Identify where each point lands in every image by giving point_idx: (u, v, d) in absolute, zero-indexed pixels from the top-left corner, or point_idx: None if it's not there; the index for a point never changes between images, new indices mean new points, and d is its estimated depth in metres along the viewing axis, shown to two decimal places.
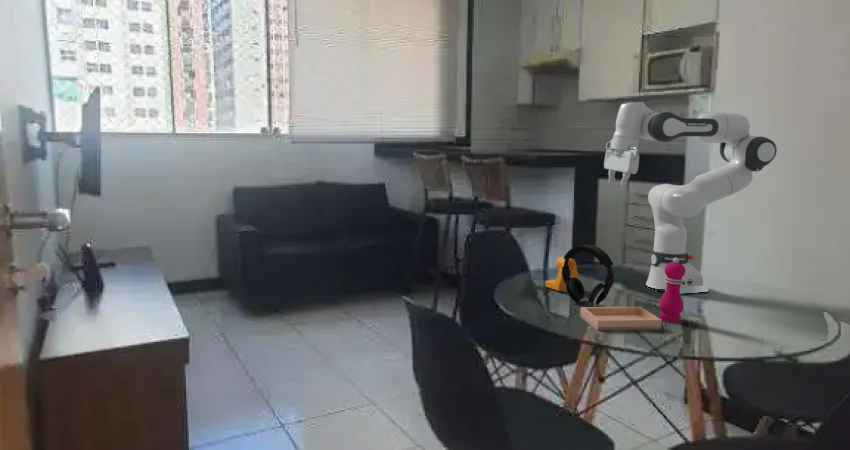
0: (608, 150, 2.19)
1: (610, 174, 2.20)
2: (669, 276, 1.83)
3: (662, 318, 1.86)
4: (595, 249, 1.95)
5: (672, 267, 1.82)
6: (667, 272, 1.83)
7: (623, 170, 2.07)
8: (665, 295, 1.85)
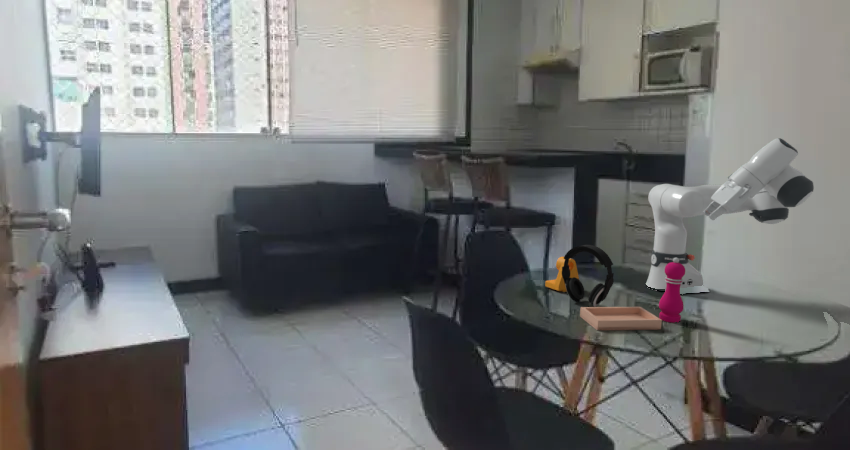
0: (727, 181, 1.84)
1: (710, 206, 1.85)
2: (669, 276, 1.83)
3: (662, 318, 1.86)
4: (595, 249, 1.95)
5: (672, 267, 1.82)
6: (667, 272, 1.83)
7: (721, 202, 1.73)
8: (665, 295, 1.85)
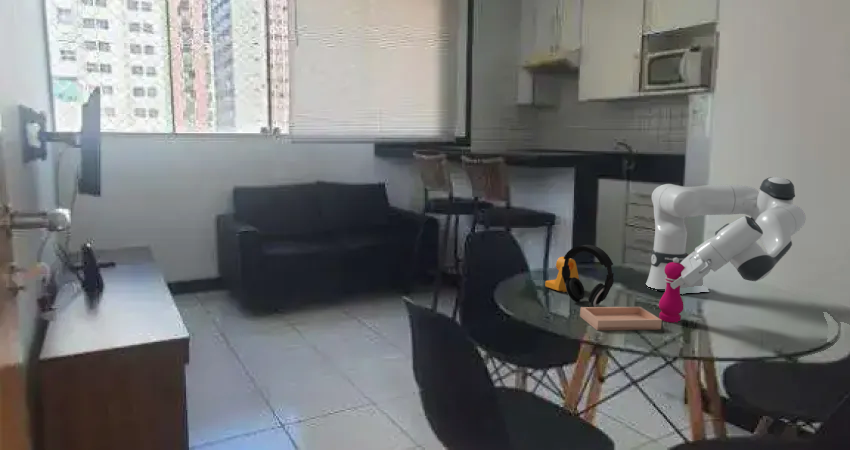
0: (694, 251, 1.88)
1: None
2: (669, 276, 1.83)
3: (662, 318, 1.86)
4: (595, 249, 1.95)
5: (672, 267, 1.82)
6: (667, 272, 1.83)
7: (682, 274, 1.78)
8: (665, 295, 1.85)
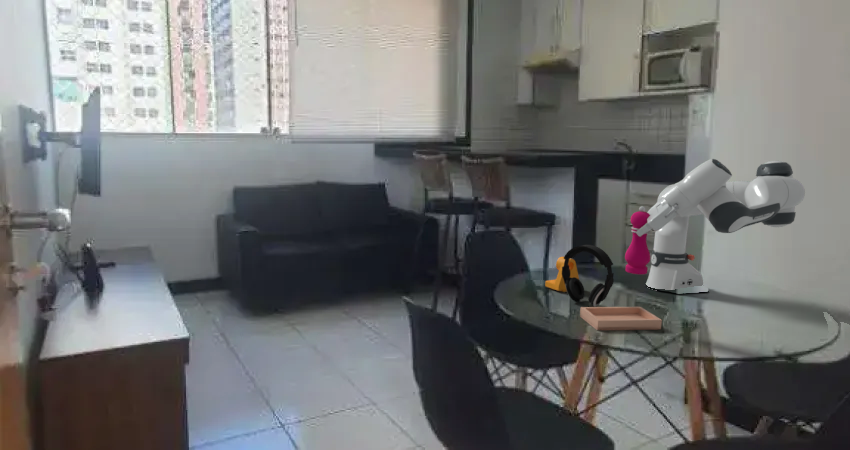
0: None
1: None
2: (635, 225, 1.75)
3: (628, 270, 1.77)
4: (595, 249, 1.95)
5: (638, 216, 1.74)
6: (633, 221, 1.75)
7: (648, 220, 1.69)
8: (631, 246, 1.77)
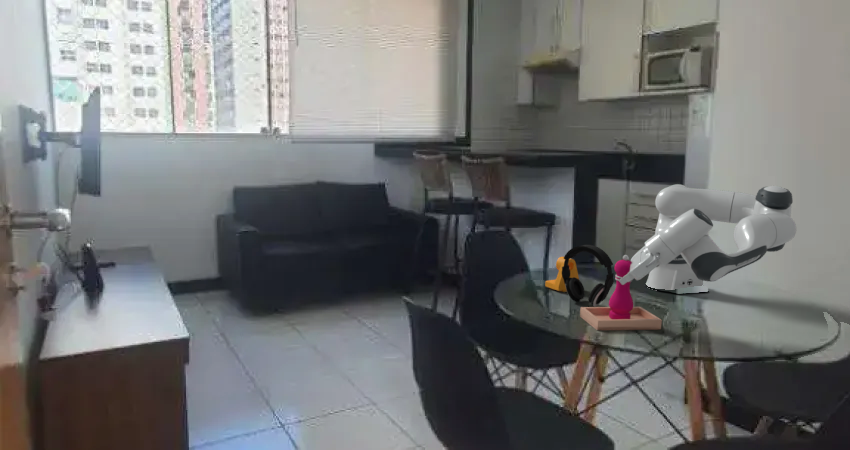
0: (646, 244, 1.82)
1: None
2: (618, 274, 1.80)
3: (611, 317, 1.82)
4: (595, 249, 1.95)
5: (621, 265, 1.78)
6: (616, 270, 1.79)
7: (630, 268, 1.72)
8: (615, 293, 1.81)
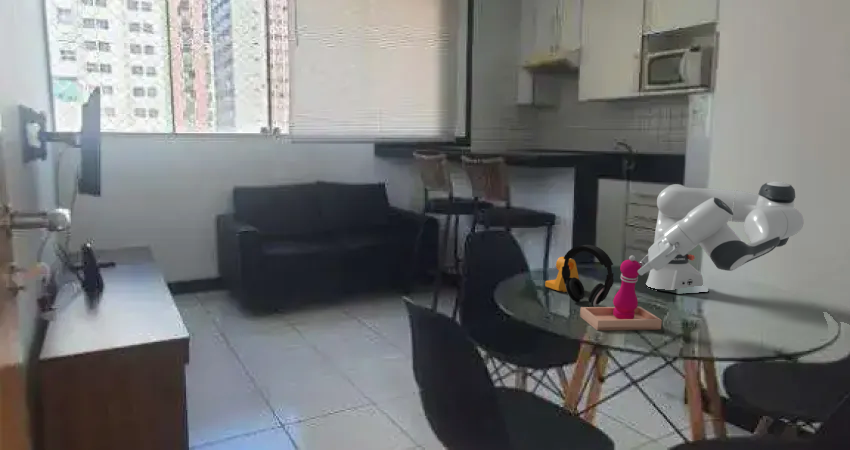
0: (663, 235, 1.79)
1: (645, 258, 1.81)
2: (624, 274, 1.79)
3: (615, 315, 1.83)
4: (595, 249, 1.95)
5: (627, 266, 1.77)
6: (622, 270, 1.79)
7: (649, 258, 1.69)
8: (619, 292, 1.81)
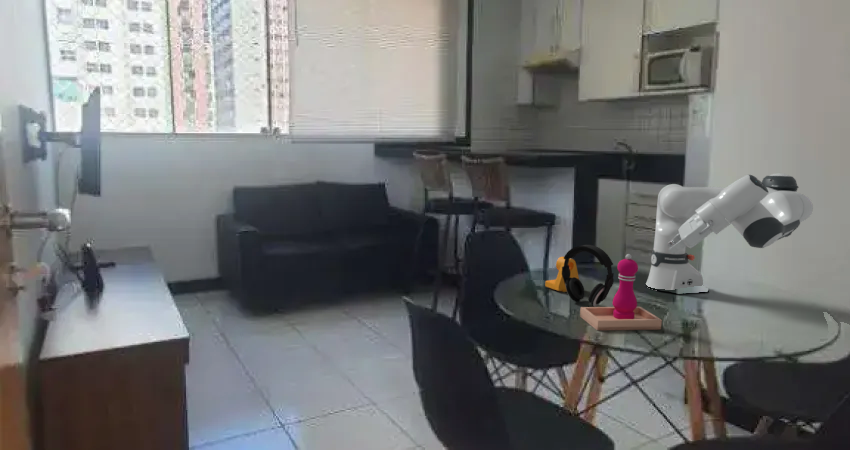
0: (695, 214, 1.76)
1: (676, 237, 1.78)
2: (621, 273, 1.81)
3: (615, 316, 1.83)
4: (595, 249, 1.95)
5: (624, 264, 1.80)
6: (619, 269, 1.81)
7: (682, 236, 1.66)
8: (618, 292, 1.82)
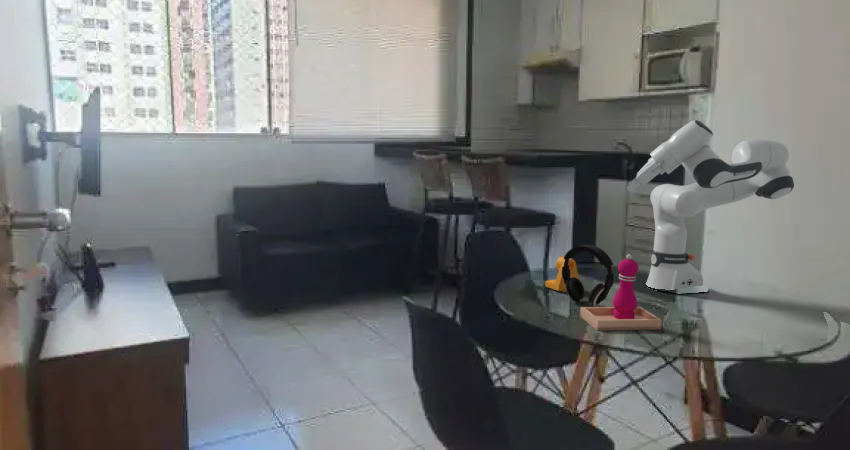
0: None
1: (634, 180, 1.99)
2: (622, 273, 1.81)
3: (615, 316, 1.83)
4: (595, 249, 1.95)
5: (625, 264, 1.80)
6: (620, 269, 1.81)
7: (637, 175, 1.87)
8: (618, 292, 1.82)
